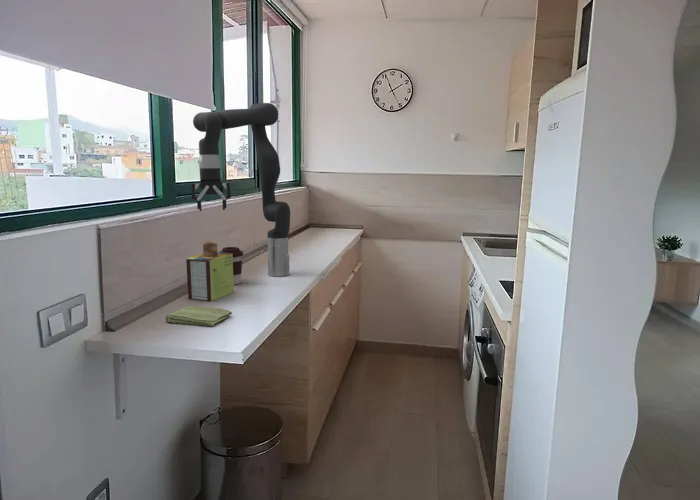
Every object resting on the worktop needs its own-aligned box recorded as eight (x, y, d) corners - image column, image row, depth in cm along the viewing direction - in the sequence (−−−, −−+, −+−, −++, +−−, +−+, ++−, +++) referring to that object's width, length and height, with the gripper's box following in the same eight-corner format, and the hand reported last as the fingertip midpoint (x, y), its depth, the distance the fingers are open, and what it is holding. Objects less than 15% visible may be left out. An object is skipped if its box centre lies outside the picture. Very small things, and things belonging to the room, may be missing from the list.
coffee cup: (237, 286, 204) (236, 250, 201) (215, 285, 206) (214, 249, 203) (247, 281, 213) (246, 246, 211) (226, 279, 215) (225, 245, 213)
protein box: (234, 292, 196) (233, 253, 193) (211, 302, 181) (209, 260, 179) (211, 289, 199) (210, 251, 196) (187, 299, 185) (185, 258, 182)
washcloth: (214, 329, 153) (213, 319, 152) (163, 324, 157) (162, 314, 156) (233, 316, 165) (233, 307, 165) (186, 312, 169) (186, 303, 169)
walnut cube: (217, 254, 191) (217, 241, 190) (217, 256, 186) (216, 243, 185) (204, 254, 190) (203, 241, 189) (203, 256, 185) (203, 243, 184)
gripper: (229, 166, 192) (231, 208, 195) (190, 167, 188) (192, 209, 191) (229, 167, 185) (231, 210, 188) (189, 167, 181) (192, 212, 184)
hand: (212, 210), depth 189 cm, fingers open, 8 cm apart
